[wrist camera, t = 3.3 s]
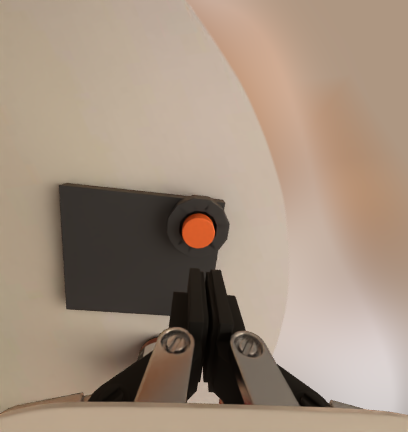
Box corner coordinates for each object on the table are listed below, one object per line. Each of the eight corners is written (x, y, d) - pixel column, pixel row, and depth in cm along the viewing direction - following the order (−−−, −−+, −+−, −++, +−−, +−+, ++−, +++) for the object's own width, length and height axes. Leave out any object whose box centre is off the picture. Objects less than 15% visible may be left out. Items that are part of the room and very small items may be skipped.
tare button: (215, 214, 21) (217, 219, 20) (211, 243, 22) (212, 250, 21) (184, 211, 21) (183, 216, 20) (181, 240, 22) (180, 247, 20)
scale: (228, 196, 24) (233, 202, 21) (210, 310, 27) (212, 328, 25) (66, 178, 22) (47, 182, 19) (72, 301, 26) (57, 319, 23)
